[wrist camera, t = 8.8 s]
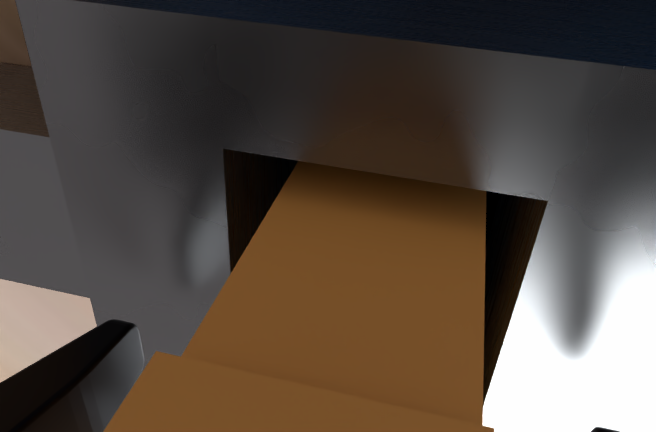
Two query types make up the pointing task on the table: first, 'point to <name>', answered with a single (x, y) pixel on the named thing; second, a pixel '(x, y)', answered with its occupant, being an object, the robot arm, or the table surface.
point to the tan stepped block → (337, 318)
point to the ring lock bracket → (350, 165)
